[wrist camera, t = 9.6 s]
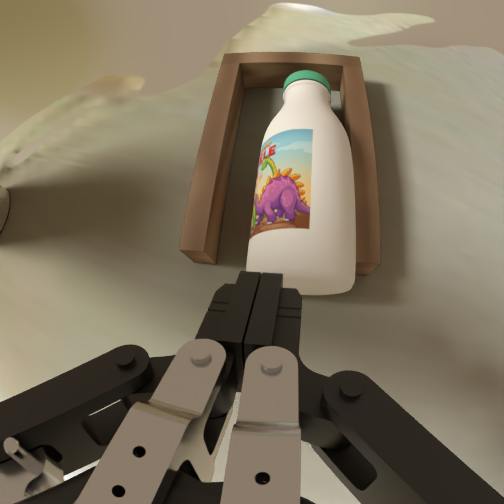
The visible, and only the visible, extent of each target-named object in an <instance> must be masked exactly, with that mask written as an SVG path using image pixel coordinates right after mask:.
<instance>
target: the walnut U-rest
mask: <svg viewBox="0 0 504 504" xmlns="http://www.w3.org/2000/svg"><path fill="white" fill-rule="evenodd" d="M302 70H309V71H314V72H317V73H319V74H321V75H323V76H324V77H325V78H326V79H327V81H328V83H329V85H330V90H336V91H340V96H341V107H342V119H343V127H344V129H345V131H346V133H347V136H348V139H349V143H350V147H351V153H352V162H353V172H354V189H355V215H356V268H355V274H358V275H369V274H370V273H371V272H372V271H373V270H374V269H375V268H376V267H377V266H378V265H380V264H381V255H380V216H379V197H378V183H377V171H376V160H375V151H374V142H373V134H372V126H371V119H370V112H369V106H368V100H367V94H366V88H365V83H364V77H363V72H362V67H361V62H360V58H359V57H354V56H345V55H334V54H321V53H301V52H250V53H230V54H224V57H223V60H222V63H221V67H220V70H219V74H218V77H217V81H216V85H215V88H214V92H213V96H212V99H211V103H210V107H209V111H208V115H207V119H206V123H205V127H204V131H203V135H202V139H201V143H200V147H199V152H198V156H197V161H196V165H195V169H194V174H193V179H192V183H191V188H190V193H189V198H188V203H187V208H186V213H185V218H184V223H183V229H182V234H181V240H180V246H179V250H180V251H181V252H182V253H184V254H185V255H186V256H187V257H188V258H190V259H191V260H192V261H193V262H194V263H207V264H216V262H217V255H218V248H219V241H220V234H221V227H222V220H223V214H224V207H225V201H226V194H227V188H228V182H229V175H230V169H231V163H232V157H233V151H234V145H235V139H236V134H237V128H238V122H239V116H240V111H241V105H242V100H243V95H244V89H245V88H284V83H285V81H286V79H287V78H288V77H289V76H290V75H291V74H292V73H295V72H297V71H302Z"/></svg>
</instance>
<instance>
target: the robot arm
mask: <svg viewBox="0 0 504 504" xmlns="http://www.w3.org/2000/svg"><path fill="white" fill-rule="evenodd" d="M9 204H10V197H9V193H8V191H7V190H6V189H5V188H3V187H2V186H0V231H1V230H2V228H3V225H4V223H5V221H6V218H7V214H8V211H9ZM301 309H302V297H301V295H300V293H299V292H298V290H297V289H296V288H283V274H282V273H267V272H262V273H261V272H251V271H240V273H239V276H238V279H237V281H236V284H226V283H225V284H224V285H223V286H222V287H220V288H219V289H218V290H217V291H216V292H215V294H214V297H213V299H212V302H211V303H210V306H209V308H208V311H207V313H206V315H205V317H204V319H203V322H202V324H201V326H200V328H199V331H198V333H197V335H196V338H195V340H192V341H189V342H187V343H186V344H184V345H183V346H182V347H181V348H180V349H179V350H178V352H177V354H176V355H172V356H164V357H151V358H149V356H148V353H147V352H146V350H145V349H143V348H142V347H140V346H137V345H123V346H120V347H117V348H115V349H113V350H111V351H109V352H107V353H105V354H103V355H101V356H99V357H97V358H95V359H92V360H90V361H88V362H86V363H84V364H82V365H80V366H78V367H76V368H74V369H72V370H69V371H67V372H65V373H63V374H61V375H59V376H57V377H55V378H52V379H50V380H48V381H46V382H44V383H42V384H40V385H37V386H35V387H33V388H31V389H29V390H27V391H24V392H22V393H20V394H18V395H16V396H13V397H11V398H9V399H7V400H4V401H2V402H0V504H315V503H313V502H312V501H310V500H308V499H306V498H303V497H301V496H300V482H301V440H302V441H305V442H308V443H310V444H311V446H312V448H313V449H314V451H315V452H316V453H317V454H318V455H319V456H320V458H321V459H322V460H323V461H324V462H325V463H326V465H327V466H328V467H329V468H330V469H331V470H332V472H333V473H334V474H335V475H336V476H337V477H338V478H339V480H340V481H341V482H342V483H343V484H344V485H345V486H346V487H347V488H348V490H349V491H350V492H351V493H352V494H353V495H354V496H355V497H356V498H357V499H358V500H359V502H360V503H361V504H504V497H503V496H502V495H500V494H499V493H498V492H497V491H496V490H495V489H493V488H492V487H491V486H490V485H489V484H488V483H487V482H485V481H484V480H483V479H482V478H481V477H480V476H478V475H477V474H476V473H475V472H474V471H473V470H472V469H470V468H469V467H468V466H467V465H466V464H465V463H464V462H463V461H461V460H460V459H459V458H458V457H457V456H456V455H455V454H453V453H452V452H451V451H450V450H449V449H448V448H447V447H446V446H444V445H443V444H442V443H441V442H440V441H439V440H438V439H437V438H435V437H434V436H433V435H432V434H431V433H430V432H429V431H428V430H426V429H425V428H424V427H423V426H422V425H421V424H420V423H419V422H418V421H416V420H415V419H414V418H413V417H412V416H411V415H410V414H409V413H408V412H406V411H405V410H404V409H403V408H402V407H401V406H400V405H399V404H398V403H396V402H395V401H394V400H393V399H392V398H391V397H390V396H389V395H388V394H387V393H385V392H384V391H383V390H382V389H381V388H380V387H379V386H378V385H377V384H376V383H374V382H373V381H372V380H371V379H370V378H369V377H368V376H366V375H364V374H362V373H360V372H356V371H341V372H337V373H335V374H333V375H332V376H330V377H327V376H324V375H321V374H318V373H315V372H313V371H311V370H310V369H308V368H307V367H306V366H305V365H304V364H303V363H302V361H301V360H300V357H299V339H300V325H301ZM236 392H241V397H240V404H239V411H238V418H237V422H236V424H234V426H233V429H232V433H231V439H230V446H229V452H228V458H227V464H226V471H225V477H224V482H211V481H212V478H213V474H214V464H215V459H216V456H217V453H218V450H219V448H220V445H221V442H222V440H223V437H224V434H225V431H226V429H227V426H228V423H229V420H230V418H231V415H232V411H233V402H234V399H235V395H236ZM120 399H121V401H119V402H117V403H115V404H113V405H111V406H109V407H107V408H105V409H103V410H101V411H99V412H97V413H95V414H93V415H90V414H92V413H94V412H96V411H98V410H100V409H102V408H104V407H106V406H108V405H110V404H112V403H114V402H116V401H118V400H120ZM88 415H90V416H88ZM99 459H100V461H99V463H98V464H97V466H95V467H92V468H90V469H88V470H86V471H84V472H82V473H80V474H78V475H76V476H74V477H72V478H70V479H68V480H66V481H64V479H63V476H64V475H67V474H69V473H71V472H73V471H75V470H78V469H80V468H82V467H84V466H86V465H88V464H91V463H93V462H95V461H97V460H99Z"/></svg>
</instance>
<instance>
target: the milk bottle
mask: <svg viewBox="0 0 504 504" xmlns="http://www.w3.org/2000/svg"><path fill="white" fill-rule="evenodd" d="M283 100H284V103H285V104H284V106H283V107H282V109H281V110H280V112H279V113H278V114H277V115H276V116H275V117H274V119H273V120H272V121H271V123H270V125H269V126H268V128H267V131H266V133H265V135H264V139H263V142H262V147H261V152H260V158H259V165H258V172H257V180H256V188H255V195H254V204H253V212H252V220H251V229H250V237H249V246H248V255H247V265H246V271H251V272H261V273H262V272H267V273H282V274H283V288H296V289H297V290H298V292H299V293H300V295H331V294H339V293H343V292H346V291H349V290H350V289H351V288H352V286H353V284H354V282H355V268H356V215H355V189H354V172H353V162H352V153H351V147H350V143H349V139H348V136H347V133H346V131H345V129H344V127H343V125H342V124H341V122H340V121H339V119H338V118H337V117H336V115H335V114H334V113H333V111H332V110H331V108H330V103H331V91H330V85H329V83H328V81H327V79H326V78H325V77H324V76H323V75H321V74H319V73H317V72H314V71H309V70H302V71H297V72H295V73H292V74H291V75H290V76H289V77H288V78H287V79H286V81H285V83H284V90H283Z"/></svg>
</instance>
